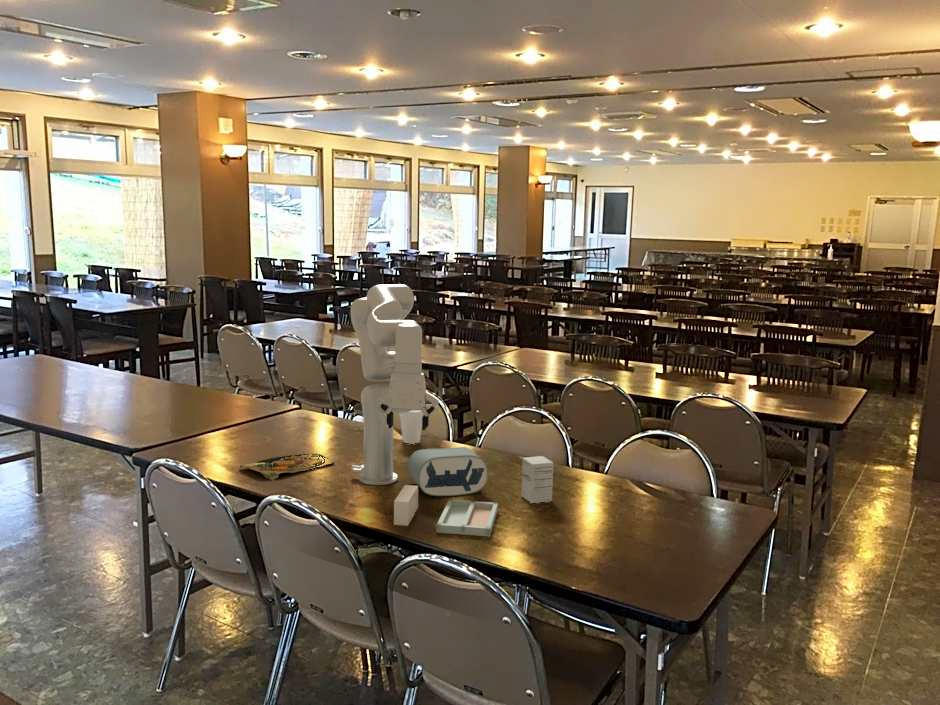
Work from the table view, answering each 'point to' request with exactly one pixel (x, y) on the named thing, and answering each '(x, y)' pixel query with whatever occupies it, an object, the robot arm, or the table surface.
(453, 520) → the divided serving tray
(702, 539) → the table surface
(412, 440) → the foam cup
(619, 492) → the table surface
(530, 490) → the stacked block tower
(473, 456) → the pencil case
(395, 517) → the upright beige block
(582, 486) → the table surface
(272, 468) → the prepared meal
